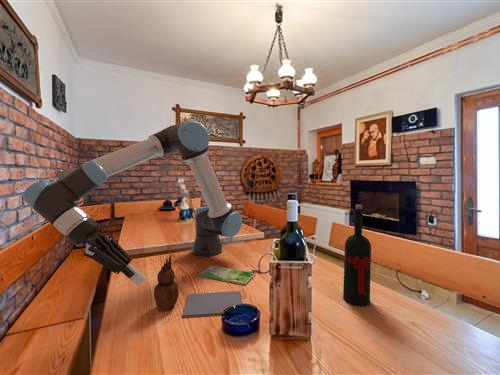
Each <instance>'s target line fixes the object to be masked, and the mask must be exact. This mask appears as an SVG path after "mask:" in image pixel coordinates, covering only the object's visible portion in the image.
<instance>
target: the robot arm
mask: <svg viewBox="0 0 500 375" xmlns="http://www.w3.org/2000/svg"><path fill="white" fill-rule="evenodd" d="M209 143H210V134H209V131H208V130H207V128H206V127H205V126H204V124H202V123H201V122H199V121H195V120H190V121H189V120H188V121H187V120H186V121H184V122H183V121H182V122H180V123H177V124H172V125H169V126H167V127H165V128H164V129H161V130H159V131H158V132H156V133H154V134H151V135H149V136H148V138H147V139H143V140H142V141H140V142H137V143H134V144H131V145H128V146H125V147H123V148H121V149H118V150H115V151H112V152H109V153H107V154H105V155H104V154H103V155H102V156H99V157H96V158H94V159H91V160H88V161H86V162H84V163H80V164H78V165H75V166H73V167H67V168H65V169H63V170H61V171H60V173H59V174H58V176H57V180H56V181H54V182H53V181H50V180H48V179H41V180H39V181H37V182H33V183H32V184H31V185H29V186H28V187H27V188H26V189H25V190H24V191H23V192H22V199H23V201H24V202H25V203H26V204H27V205H28V206H30V208H31V209H33V210H34V211H35V212H36V213H37V214H39V215H40V216H41V217H42V218H44V220H46V222H48V223H49V224H51V225H52V226H53V227H54V228H55V229H57V231H58V232H60V233H61V234H63V235H64V236H67V239H68V240H69V242H71V243H73V244H74V245H75V246H77V247H78V246H81V245H82V246H83V247H84V249H85V251H84V252H83V253H82V254H83V256H85V257H87V258H89V259H92V260H93V261H95V262H97V263H98V264H99V265H101V266H103V267H104V268H106V269H107V270H109V271H111V272H112V273H113V274H117V275H119V274H120V273H122V274H123V275H124V276H126V278H128V279H129V280H130V281H131V282H132V283H134V284H135V285H136V286H137V287H139V286H140V285H142V283H143V282H145V281H146V280H147V276H145V275H144V273H142V272H141V271H140V270H139V269H138V268H136V267H135V266H134V265H133V264H132V263H131V262H132V261H133V258H132V257H131V256H130V255H129V254H128V253H127V252H126V251H125V250H124V248H122V246H121V245H120V244H119V243H118V242H117V241H116V239H115V237H114V236H113V235H111V234H110V235H109V236H106V235H105V234H104V233H103V232H101V231H100V229H101V225H100V223H98V222H97V221H96V220H95V219H93V218H91V217H90V215H89V213H87V212H86V210H85V211H84V210H83V209H82V208H81V207H80V206H79V205H78V204H76V203H78V202H79V201H80V200H82V199H83V198H84V197H86V196H87V195H89V194H90V193H92V192H93V191H94V190H96V189H97V188H99V187H101V186H102V184H104V183H105V182H106V181H107V180H108V178H109V177H112V176H114V175H115V174H119V173H121V172H123V171H126V170H127V169H128V170H129V169H130V168H133V167H134V166H137V165H139V164H141V163H144V162H146V161H149V160H151V159H153V158H156V157H158V158H162V157H164V156H166V155H167V156H168V155H171V154H179V156H180V158H181V160H182V161H184V162H186V163H187V164H188V167H189V168H190V171H191V173H192V175H193V178H194V179H195V181H196V184H197V186H198V189H199V190H200V193H201V195H202V198H203V200H204V202H205V204H206V206H201V207H200V206H199V207H197V208H196V209H195V213H194V215H195V216H194V218H195V237H194V241H193V244H192V249H191V250H192V254H193V255H195V256H201V257H209V256H210V257H212V256H216V255H219V254H221V253H222V252H223V244H222V242H221V238H220V236H221V237H225V238H233V237H235V236H237V235H238V234H239V232H240V231H241V228H242V226H243V217H242V215H241V214H240V213H239V212H237V211H235V210H234V208H233V206H232V203H230V202H227V200H226V197H225V195H224V192H223V191H222V190H223V189H222V188H221V185H220V182H219V181H218V178H217V176H216V173H215V171H214V168H213V166H212V163H211V161H210V159H209V155H208V153H209V151H210V149H209Z"/></svg>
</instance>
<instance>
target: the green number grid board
mask: <svg viewBox="0 0 500 375" xmlns="http://www.w3.org/2000/svg"><path fill="white" fill-rule="evenodd" d="M250 272H251V271H247V270H240V269H233V268H228V267H223V266H217V265H216V266H215V265H210V266H209V267H208V268H206V269H205V270H204V271H202V272H200V273H199V274H198V277H201V278H206V279H210V280H215V281H220V282H221V281H222V282H224V283H231V284H235V285H241V286H245V287H246V286H247V285H248V284H249V283H250V280H251V279H252V280H253V279H254V277H255V276H256V275H257V273H256V272H253V274H250ZM255 274H256V275H255ZM254 275H255V276H254ZM253 276H254V277H253ZM252 280H251V281H252Z"/></svg>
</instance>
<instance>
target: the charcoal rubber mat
mask: <svg viewBox="0 0 500 375" xmlns="http://www.w3.org/2000/svg"><path fill="white" fill-rule="evenodd" d="M237 304H243V305H244V303H243V298H242V291H241V290H236V291H235V290H233V291H232V290H231V291H217V292H214V291H213V292H198V293H188V295H187V297H186V301H185V305H184V309H183V313H182V318H193V317H206V316H207V317H208V316H222V315H221V314H222V312H223V311H224V309H226V308H227V307H229V306H235V305H237Z"/></svg>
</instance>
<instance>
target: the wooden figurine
mask: <svg viewBox="0 0 500 375" xmlns="http://www.w3.org/2000/svg"><path fill="white" fill-rule="evenodd" d="M175 278H176V273H175V271H174V269H173V268H172V255H171V254H170V255H169V257H168V258H165V262H164V263H163V266H161V270H159V271H158V273H157V279H156V280H157V282H158V283H157V284H156V285H155V286H154V289H153V298H154V301H155V302H154V303H155V305H156V308H158V309H159V310H161V311H166V310H170V309H172V308H173V307H174V306H175V305H176V303H178V302H177V301H178V299H179V294H180V291H179V290H180V289H179V285H178V282H177V281H176V280H175Z"/></svg>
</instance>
